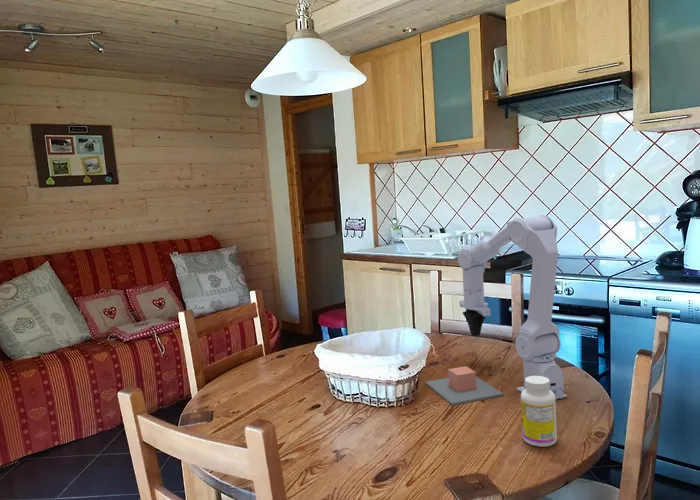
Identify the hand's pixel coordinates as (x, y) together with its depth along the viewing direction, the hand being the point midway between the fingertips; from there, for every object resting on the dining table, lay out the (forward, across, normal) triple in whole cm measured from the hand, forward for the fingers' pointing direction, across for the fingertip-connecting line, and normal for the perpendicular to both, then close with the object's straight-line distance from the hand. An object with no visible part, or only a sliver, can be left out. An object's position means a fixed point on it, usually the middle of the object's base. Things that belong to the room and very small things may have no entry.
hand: (475, 335), depth 150 cm
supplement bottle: (+10, -45, +11) cm, 47 cm away
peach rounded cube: (+9, -14, +12) cm, 20 cm away
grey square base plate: (+9, -14, +12) cm, 21 cm away
